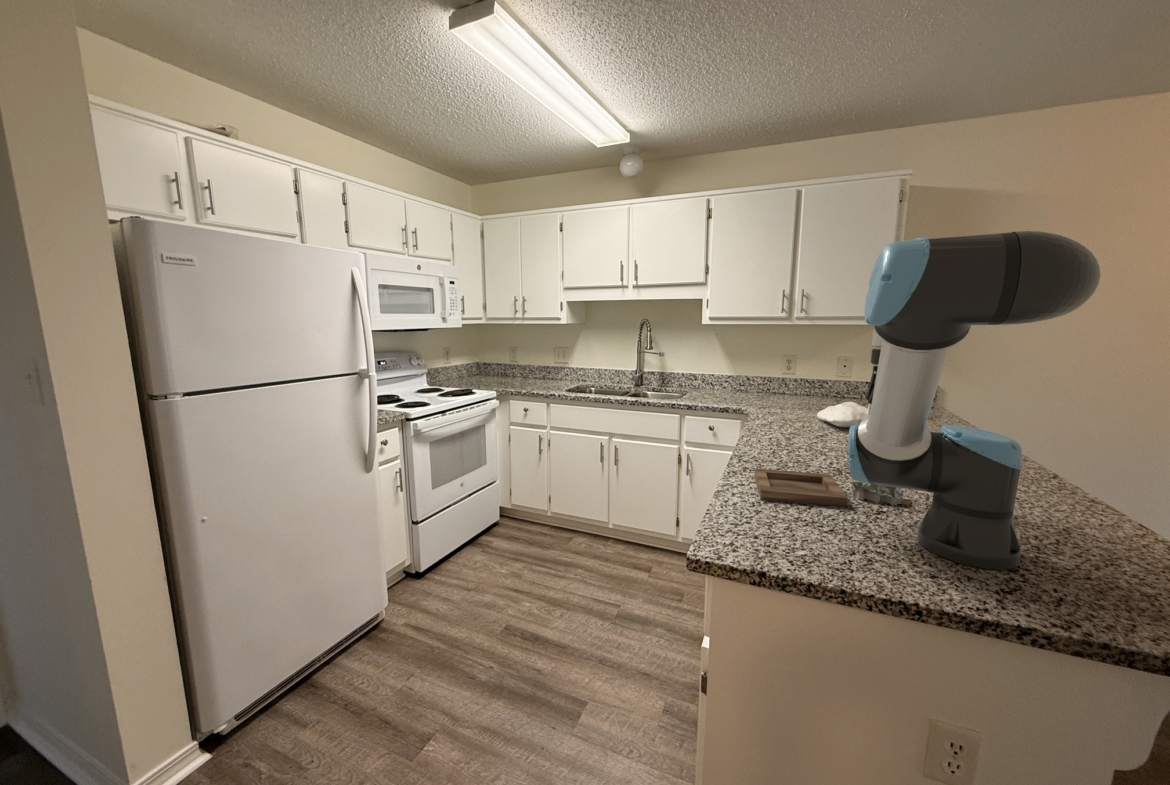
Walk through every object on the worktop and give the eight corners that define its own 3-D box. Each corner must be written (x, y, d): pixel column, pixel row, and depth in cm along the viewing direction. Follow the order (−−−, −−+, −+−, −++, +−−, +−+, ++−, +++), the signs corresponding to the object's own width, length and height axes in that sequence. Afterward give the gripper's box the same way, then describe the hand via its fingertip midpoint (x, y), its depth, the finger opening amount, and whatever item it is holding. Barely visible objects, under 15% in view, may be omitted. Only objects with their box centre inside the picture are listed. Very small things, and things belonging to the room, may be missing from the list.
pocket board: (846, 508, 106) (847, 498, 106) (760, 499, 111) (761, 490, 111) (829, 483, 122) (830, 474, 122) (754, 477, 127) (755, 468, 127)
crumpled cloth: (879, 417, 198) (878, 396, 198) (885, 433, 168) (882, 409, 168) (819, 419, 210) (817, 400, 210) (814, 435, 180) (812, 413, 180)
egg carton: (850, 500, 112) (851, 484, 111) (851, 490, 118) (852, 475, 118) (902, 508, 106) (904, 492, 106) (900, 498, 113) (902, 482, 112)
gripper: (934, 352, 93) (922, 451, 97) (889, 345, 117) (881, 425, 120) (892, 351, 95) (882, 449, 99) (857, 344, 119) (850, 423, 122)
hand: (882, 436), depth 110 cm, fingers open, 13 cm apart
